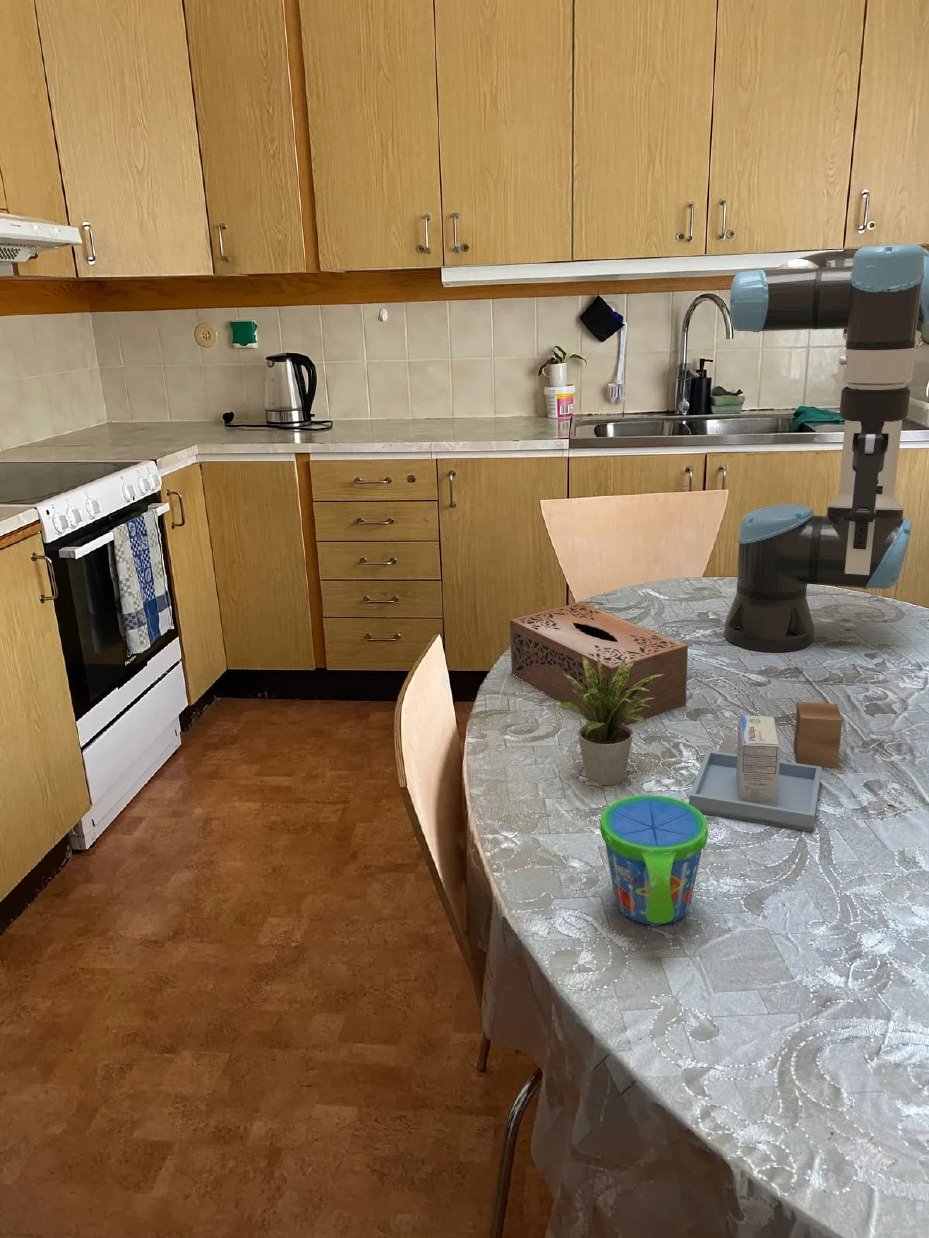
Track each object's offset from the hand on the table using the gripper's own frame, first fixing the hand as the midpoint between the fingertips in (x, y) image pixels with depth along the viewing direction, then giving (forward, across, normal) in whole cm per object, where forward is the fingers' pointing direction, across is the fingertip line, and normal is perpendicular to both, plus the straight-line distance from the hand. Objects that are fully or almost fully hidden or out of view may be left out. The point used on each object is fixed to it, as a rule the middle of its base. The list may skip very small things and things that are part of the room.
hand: (859, 558), depth 118 cm
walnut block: (+27, +4, -3) cm, 27 cm away
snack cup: (+27, +42, -16) cm, 52 cm away
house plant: (+27, +18, -27) cm, 43 cm away
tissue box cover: (+27, -9, -37) cm, 47 cm away
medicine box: (+26, +17, -9) cm, 32 cm away
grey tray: (+27, +16, -9) cm, 33 cm away
